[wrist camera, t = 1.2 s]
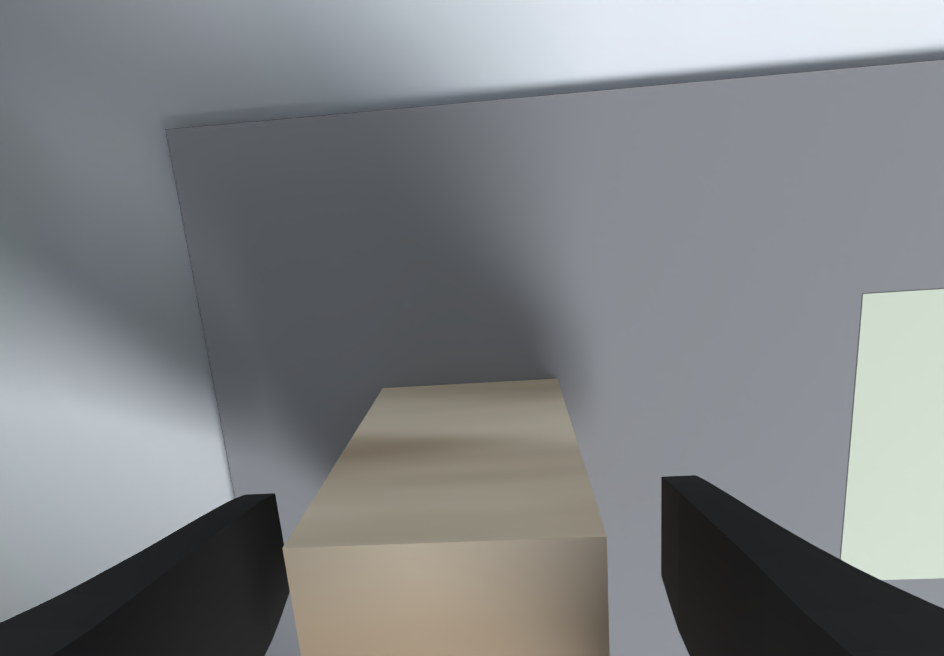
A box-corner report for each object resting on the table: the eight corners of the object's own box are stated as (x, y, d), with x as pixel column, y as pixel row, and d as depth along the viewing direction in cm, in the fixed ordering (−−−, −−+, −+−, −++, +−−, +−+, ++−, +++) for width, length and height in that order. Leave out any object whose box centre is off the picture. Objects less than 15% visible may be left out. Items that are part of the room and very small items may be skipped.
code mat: (1209, 716, 14) (1226, 728, 14) (285, 728, 16) (280, 739, 15) (1400, 21, 10) (1429, 15, 10) (173, 131, 12) (164, 129, 12)
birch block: (564, 535, 13) (613, 797, 8) (400, 541, 14) (325, 798, 8) (557, 378, 12) (607, 536, 7) (382, 388, 13) (281, 548, 7)
